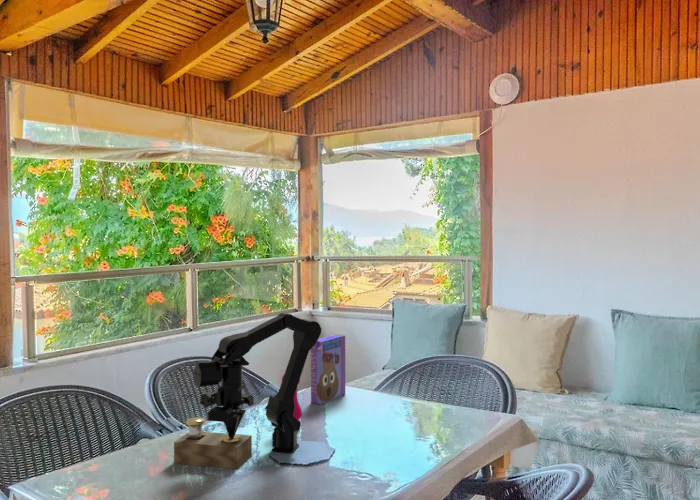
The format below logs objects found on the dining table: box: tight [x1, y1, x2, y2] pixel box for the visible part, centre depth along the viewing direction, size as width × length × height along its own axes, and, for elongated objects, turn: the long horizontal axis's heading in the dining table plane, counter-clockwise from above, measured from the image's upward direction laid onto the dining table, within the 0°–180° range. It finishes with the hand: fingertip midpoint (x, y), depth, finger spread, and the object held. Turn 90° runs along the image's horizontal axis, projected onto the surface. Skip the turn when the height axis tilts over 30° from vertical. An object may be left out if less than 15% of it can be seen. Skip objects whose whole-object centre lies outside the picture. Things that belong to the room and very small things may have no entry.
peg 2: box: [222, 433, 241, 443], centre depth 168 cm, size 5×5×6 cm
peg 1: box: [185, 416, 206, 440], centre depth 170 cm, size 5×5×6 cm
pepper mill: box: [281, 374, 303, 423], centre depth 198 cm, size 7×7×20 cm
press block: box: [173, 431, 253, 470], centre depth 169 cm, size 19×10×6 cm, turn 77°
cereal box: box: [310, 334, 346, 406], centre depth 234 cm, size 17×5×24 cm, turn 149°
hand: (231, 437), depth 168 cm, fingers closed, pressing on peg 2
